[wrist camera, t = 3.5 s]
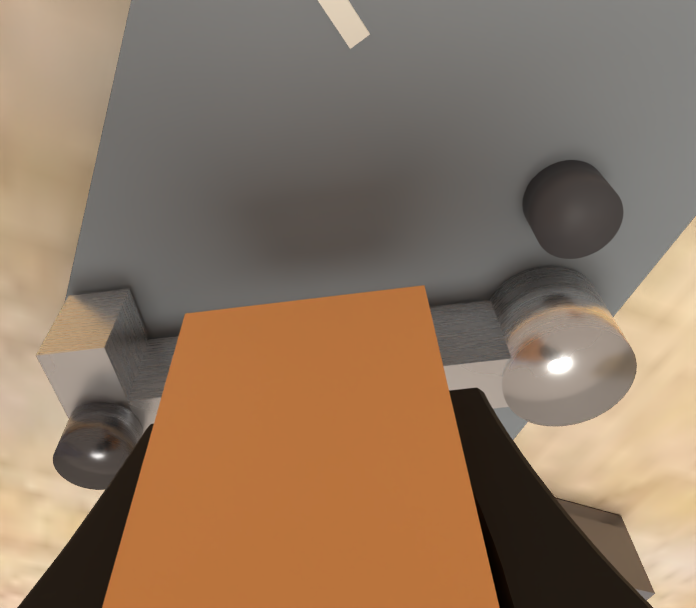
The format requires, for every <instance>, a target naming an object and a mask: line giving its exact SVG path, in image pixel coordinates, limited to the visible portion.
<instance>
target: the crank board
mask: <svg viewBox="0 0 696 608" xmlns="http://www.w3.org/2000/svg"><path fill="white" fill-rule="evenodd" d="M695 216H696V0H131V4H130V8H129V13H128V18H127V22H126V27H125V31H124V36H123V40H122V45H121V49H120V54H119V58H118V63H117V67H116V72H115V76H114V81H113V86H112V90H111V95H110V99H109V104H108V108H107V113H106V117H105V122H104V126H103V131H102V135H101V140H100V145H99V149H98V154H97V158H96V163H95V167H94V172H93V176H92V181H91V185H90V190H89V194H88V199H87V203H86V208H85V213H84V217H83V222H82V226H81V231H80V235H79V240H78V244H77V249H76V253H75V258H74V262H73V267H72V272H71V276H70V281H69V285H68V290H67V294H66V299H65V302H66V300H67V298H68V296H70V295H78V294H87V293H95V292H104V291H112V290H120V289H130V292H131V294H132V297H133V300H134V302H135V305H136V307H137V310H138V313H139V315H140V318H141V320H142V323H143V326H144V328H145V331H146V334H147V336H148V339H157V338H166V337H174V336H179V333H180V330H181V326H182V323H183V319H184V315H185V314H186V313H194V312H203V311H211V310H220V309H228V308H236V307H245V306H253V305H262V304H270V303H279V302H287V301H296V300H304V299H312V298H321V297H329V296H338V295H346V294H355V293H363V292H371V291H380V290H388V289H397V288H405V287H414V286H422V285H425V290H426V294H427V298H428V303H429V307H435V306H444V305H453V304H461V303H470V302H479V301H487V300H489V298H490V297H491V296H492V294H493V293H494V292H495V291H496V290H497V289H498V288H499V287H500V286H501V285H502V284H503V283H505V282H506V281H507V280H509V279H510V278H512V277H514V276H516V275H518V274H520V273H522V272H525V271H527V270H531V269H535V268H540V267H550V266H553V267H563V268H568V269H571V270H574V271H576V272H579V273H580V274H582V275H584V276H585V277H586V278H587V279H588V280H590V282H591V283H592V284H593V285H594V287H595V289H596V290H597V292H598V294H599V295H600V297H601V299H602V300H603V302H604V303H605V305H606V307H607V308H608V310H609V312H610V313H611V315H612V317H614V315H615V314H616V313H617V312H618V310H619V309H620V308H621V307H622V306H623V304H624V303H625V302H626V301H627V299H628V298H629V297H630V296H631V295H632V293H633V292H634V291H635V290H636V288H637V287H638V286H639V285H640V283H641V282H642V281H643V280H644V279H645V277H646V276H647V275H648V274H649V272H650V271H651V270H652V269H653V268H654V266H655V265H656V264H657V263H658V261H659V260H660V259H661V258H662V256H663V255H664V254H665V253H666V252H667V250H668V249H669V248H670V247H671V245H672V244H673V243H674V242H675V241H676V239H677V238H678V237H679V236H680V234H681V233H682V232H683V231H684V229H685V228H686V227H687V226H688V225H689V223H690V222H691V221H692V220H693V218H694V217H695ZM64 304H65V303H64ZM493 410H494V411H495V413H496V415H497V416H498V418H499V420H500V421H501V423H502V424H503V426H504V427H505V429H506V431H507V432H508V434H509V435H510V437H511V438H512V440H513V439H514V438H515V437H516V436H517V434H518V433H519V432H520V431H521V430H522V428H523V427H524V426H525V425H526V423H527V422H528V421H526V420H524V419H522V418H520V417H519V416H517V415H516V414H515V413H514V412H513V411H512V410H511V409H510V408H509V407H503V408H493Z"/></svg>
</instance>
